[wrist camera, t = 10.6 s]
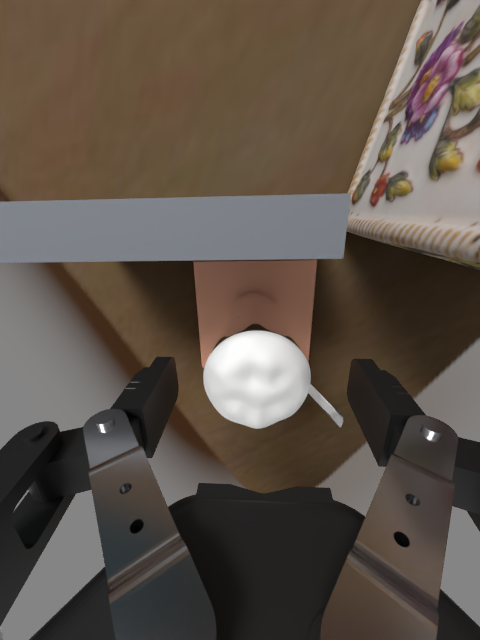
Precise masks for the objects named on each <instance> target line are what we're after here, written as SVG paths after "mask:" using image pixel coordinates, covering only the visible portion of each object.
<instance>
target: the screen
mask: <svg viewBox="0 0 480 640" xmlns="http://www.w3.org/2000/svg"><path fill="white" fill-rule="evenodd" d="M350 198H351V193H347V194H306V195H264V196H223V197H182V198H141V199H99V200H58V201H17V202H0V263H7V262H8V263H10V262H12V263H13V262H15V263H16V262H102V261H188V260H274V259H343V256H344V248H345V239H346V231H347V223H348V214H349V206H350Z"/></svg>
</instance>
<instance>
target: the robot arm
mask: <svg viewBox="0 0 480 640" xmlns="http://www.w3.org/2000/svg"><path fill="white" fill-rule="evenodd" d="M347 395H348V401H349V403H350V406H351V408H352V410H353V412H354V414H355V416H356V418H357V421H358V423H359V425H360V427H361V429H362V431H363V433H364V436H365V438H366V440H367V442H368V444H369V446H370V448H371V450H372V453H373V455H374V457H375V459H376V461H377V463H378V466H384V467H386V469H385V471H384V474H383V476H382V478H381V481H380V483H379V486H378V488H377V490H376V493H375V495H374V498H373V500H372V503H371V505H370V507H369V510H368V512H367V515H366V517H365V516H364V515H362V514H360V513H359V512H358V511H356V510H355V509H353V508H351V507H349V506H347V505H345V504H343V503H340V502H338V501H335V500H333V498H332V494H331V490H330V488H316V487H294V488H289V489H285V490H280V491H275V492H271V493H266V494H262V493H258V492H255V491H251V490H248V489H245V488H241V487H237V486H234V485H231V484H210V483H199V484H198V489H197V493H196V495H192V496H189V497H186V498H183V499H181V500H179V501H177V502H175V503H174V504H172V505H170V506H169V507H168V506H167V504H166V502H165V499H164V497H163V495H162V492H161V490H160V487H159V485H158V483H157V480H156V478H155V476H154V473H153V471H152V469H151V466H150V464H149V461H148V459H147V458H152V457H153V455H154V452H155V450H156V448H157V445H158V443H159V440H160V438H161V436H162V433H163V431H164V428H165V426H166V423H167V421H168V419H169V416H170V414H171V412H172V409H173V407H174V405H175V402H176V400H177V397H178V379H177V372H176V364H175V359H174V357H156V358H155V360H154V361H153V363H152V364H151V366H150V367H145V368H143V369H142V370H141V371H139V372H138V373H137V374H135V375H134V377H133V378H132V380H131V381H130V383H129V384H128V385H127V386H126V389H124V391H123V392H122V393H121V395H120V396H119V398H118V399H117V400H116V402H115V403H114V404H113V406H112V407H111V409H108V410H104V411H101V412H99V413H97V414H95V415H94V416H92V417H91V418H90V419H89V420H88V421H87V422H86V423H85V425H84V427H82V428H77V429H72V430H67V431H62V432H60V431H59V428H58V425H57V424H55V423H54V422H50V421H49V422H48V421H47V422H39V423H36V424H33V425H31V426H28V427H26V428H24V429H23V430H21V431H20V432H18V433H17V434H16V435H15V436H13V437H12V438H11V439H10V441H8V442H7V444H6V445H5V446H4V447H3V448H2V449H1V450H0V626H1V624H2V622H3V621H4V619H5V617H6V615H7V613H8V612H9V610H10V608H11V606H12V605H13V603H14V601H15V599H16V598H17V596H18V594H19V592H20V591H21V589H22V587H23V585H24V584H25V582H26V580H27V578H28V576H29V575H30V573H31V571H32V570H33V568H34V566H35V564H36V563H37V561H38V559H39V557H40V555H41V554H42V552H43V550H44V549H45V547H46V545H47V543H48V542H49V540H50V538H51V536H52V534H53V533H54V531H55V529H56V528H57V526H58V524H59V522H60V520H61V519H62V517H63V515H64V513H65V512H66V510H67V508H68V507H69V505H70V503H71V501H72V499H73V498H74V496H75V494H76V493H80V492H84V491H87V490H92V495H93V501H94V507H95V512H96V518H97V524H98V530H99V535H100V541H101V547H102V552H103V558H104V563H105V567H104V568H103V569H102V570H101V571H100V572H99V573H98V574H97V575H96V576H95V577H94V578H92V580H90V582H88V583H87V584H86V585H85V586H84V587H83V588H82V589H81V590H80V591H79V592H78V593H77V594H76V595H75V596H74V597H73V598H72V599H71V600H70V601H69V602H68V603H67V604H66V605H65V606H64V607H63V608H61V609H60V610H59V612H57V613H56V615H54V616H53V617H52V618H51V619H50V620H49V621H48V622H47V623H46V624H45V625H44V626H43V627H42V628H41V629H40V630H39V631H38V632H37V633H36V634H34V636H32V637H31V638H30V639H29V640H480V627H479V626H478V625H477V624H476V623H475V622H474V621H473V620H472V619H471V618H470V617H469V616H468V615H467V614H466V613H465V612H464V611H463V610H462V609H461V608H460V607H459V606H458V605H456V603H455V602H454V601H453V600H452V599H451V598H449V597H448V596H447V595H446V594H445V593H444V592H443V591H442V590H441V589H440V585H441V579H442V572H443V565H444V557H445V551H446V544H447V538H448V531H449V524H450V517H451V510H452V506H454V507H458V508H460V509H464V510H467V512H468V514H469V515H470V517H471V518H472V520H473V522H474V523H475V525H476V526H477V528H478V530H479V531H480V442H476V441H472V440H467V439H463V438H460V437H458V436H457V434H456V433H455V431H454V430H453V429H452V428H451V427H450V426H448V425H447V424H445V423H444V422H442V421H440V420H438V419H435V418H432V417H429V416H426V415H425V413H424V412H423V411H422V410H421V408H420V407H419V406H418V405H417V404H416V402H415V401H414V400H413V399H412V397H411V396H410V395H409V394H408V393H407V391H406V390H405V389H404V387H402V385H401V384H400V382H399V381H398V380H397V379H396V377H394V376H393V375H391V374H390V373H388V372H387V371H385V370H380V369H379V368H378V367H377V365H376V364H375V363H374V361H373V360H372V359H353V360H352V362H351V367H350V374H349V381H348V387H347ZM27 490H29V492H28V493H27V495H26V496H25V498H24V499H23V500H22V502H21V503H20V504H19V506H18V507H17V508H16V510H15V511H14V509H15V507H16V505H17V503H18V502H19V501H20V499H21V498H22V497H23V495H24V494H25V493H26V491H27ZM0 640H3V632H2V629H1V627H0Z"/></svg>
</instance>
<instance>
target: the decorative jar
mask: <svg viewBox="0 0 480 640" xmlns="http://www.w3.org/2000/svg"><path fill="white" fill-rule="evenodd" d="M348 193H351V198H350V206H349V214H348V223H347V232H350V233H352V234H356V235H359V236H362V237H366V238H369V239H372V240H376V241H379V242H382V243H387V244H389V245H393V246H396V247H400V248H403V249H406V250H410V251H414V252H418V253H421V254H425V255H428V256H433V257H436V258H440V259H443V260H447V261H450V262H455V263H457V264H461V265H464V266H467V267H470V268H473V269H477V270H480V0H421V3H420V5H419V7H418V9H417V12H416V15H415V17H414V19H413V22H412V24H411V27H410V30H409V33H408V36H407V38H406V41H405V44H404V46H403V49H402V52H401V55H400V57H399V60H398V63H397V65H396V68H395V70H394V73H393V76H392V78H391V80H390V83H389V85H388V88H387V90H386V93H385V97H384V99H383V102H382V104H381V106H380V108H379V111H378V114H377V116H376V119H375V121H374V124H373V126H372V129H371V132H370V135H369V137H368V140H367V143H366V145H365V148H364V151H363V153H362V156H361V158H360V161H359V164H358V167H357V169H356V172H355V175H354V177H353V180H352V183H351V185H350V188H349V191H348Z"/></svg>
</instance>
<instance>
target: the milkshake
mask: <svg viewBox="0 0 480 640" xmlns="http://www.w3.org/2000/svg"><path fill="white" fill-rule="evenodd" d="M203 378H204V387H205V391H206V393H207V396H208V398H209V399H210V401H211V403H212V404H213V406H214V407H215V408H216V409H217V411H218V412H219V413H220V414H221V415H222V416H223V417H225V418H226V419H228V420H230V421H233V422H236V423H239V424H243V425H246V426H248V427H251V428H255V429H261V428H264V427H267V426H270V425H272V424H274V423H276V422H278V421H281V420H283V419H286V418H288V417H290V416H292V415H293V414H294V413H295V412H296V411H297V410H298V409H299V408H300V407H301V405H302V404H303V402H304V401H305V399H306V397H307V394H308V393H309V395H310V396H311V397H312V398H313V399H314V400H315V401H316V402H317V403H318V404H319V405H320V406H321V408H322V409H323V410H324V411H325V412H326V413H327V414H328V415H329V416H330V417H331V418H332V419H333V421H334V422H335V423H336V424H337V425H338V426H339V427H341V426H342V424H343V421H344V418H343V416H342V415H341V414H340V413H339V412H338V411H337V410H336V409H335V408H334V407H333V406H332V405H331V404H330V403H329V402H328V401H327V400H326V399H325V398H324V397H323V396H322V395H321V394H320V393H319V392H318V391H317V390H316V389H315V388H314V387H313V385H312V384H311V372H310V367H309V363H308V361H307V359H306V357H305V356H304V354H303V352H302V351H301V349H300V347H299V346H298V344H297V342H296V341H295V339H294V337H293V336H292V334H291V332H290V330H289V328H288V326H287V324H286V322H285V320H284V318H283V316H282V314H281V313H280V311H279V309H278V307H277V305H276V303H275V302H274V301H273V300H271V299H270V298H269V297H268V296H267V295H266V294H265V293H258V292H251V291H250V292H248V293H246V294H244V295H242V296H240V297H238V298H237V299H236V301H235V303H234V305H233V307H232V309H231V311H230V313H229V316H228V318H227V321H226V323H225V326H224V328H223V330H222V332H221V334H220V336H219V337H218V339H217V341H216V343H215V345H214V347H213V349H212V351H211V353H210V355H209V357H208V359H207V361H206V364H205V368H204V376H203Z"/></svg>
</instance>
